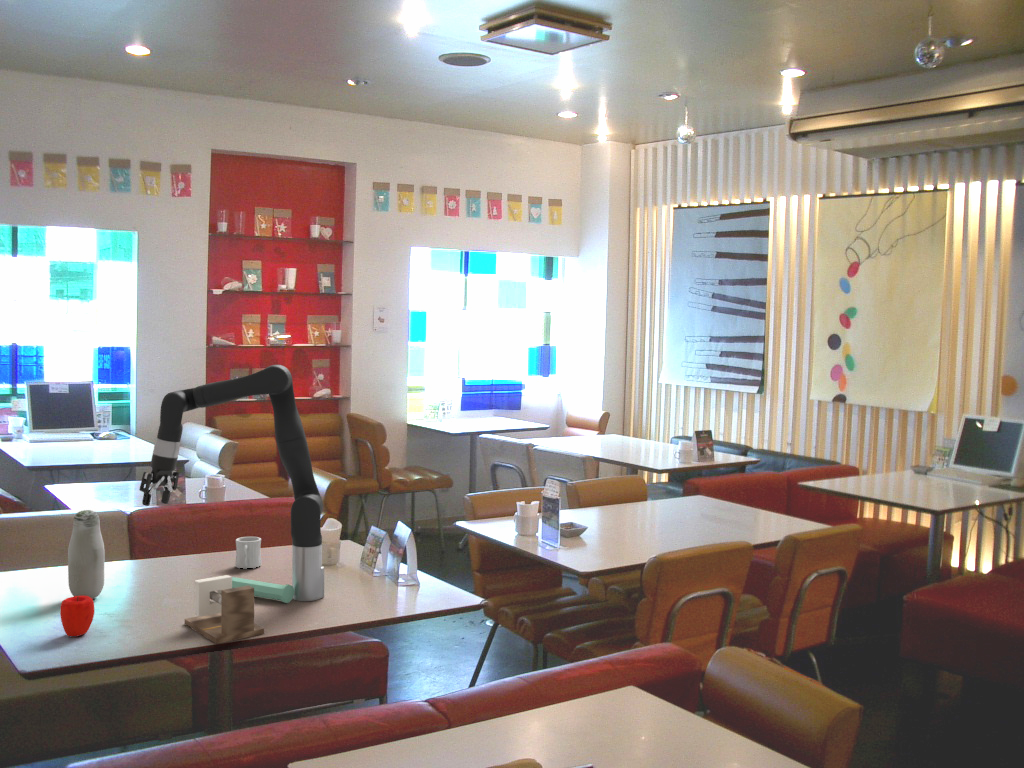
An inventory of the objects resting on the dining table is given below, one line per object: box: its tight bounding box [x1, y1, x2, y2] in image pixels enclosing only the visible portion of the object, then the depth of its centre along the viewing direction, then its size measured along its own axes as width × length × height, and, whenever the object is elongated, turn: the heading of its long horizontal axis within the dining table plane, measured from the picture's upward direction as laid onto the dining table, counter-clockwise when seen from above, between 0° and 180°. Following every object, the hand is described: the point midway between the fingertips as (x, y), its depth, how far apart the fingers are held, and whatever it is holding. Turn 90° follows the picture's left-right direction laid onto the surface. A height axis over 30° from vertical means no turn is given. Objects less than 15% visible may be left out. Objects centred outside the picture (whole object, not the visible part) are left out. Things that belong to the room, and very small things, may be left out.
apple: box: [59, 596, 95, 637], centre depth 267 cm, size 9×9×11 cm
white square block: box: [194, 574, 233, 617], centre depth 280 cm, size 10×3×10 cm, turn 131°
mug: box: [234, 536, 262, 570], centre depth 344 cm, size 12×9×10 cm
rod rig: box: [184, 585, 265, 644], centre depth 274 cm, size 14×22×14 cm, turn 41°
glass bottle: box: [67, 509, 106, 600], centre depth 301 cm, size 10×10×28 cm
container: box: [231, 576, 294, 604], centre depth 307 cm, size 6×6×25 cm
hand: (155, 504), depth 302 cm, fingers open, 8 cm apart
